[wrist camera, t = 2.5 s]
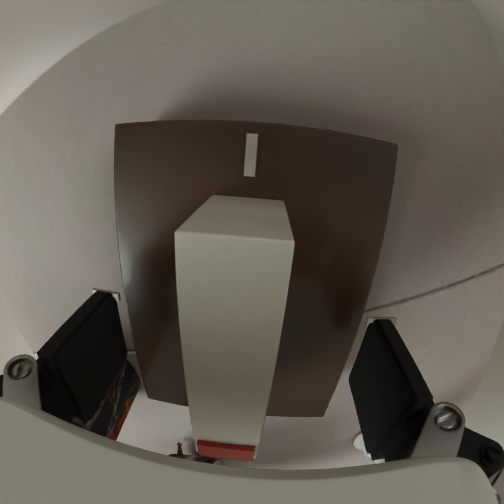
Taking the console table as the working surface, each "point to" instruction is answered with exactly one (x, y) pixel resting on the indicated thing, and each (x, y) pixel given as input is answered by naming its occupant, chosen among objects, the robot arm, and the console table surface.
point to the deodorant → (115, 404)
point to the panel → (302, 225)
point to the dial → (231, 317)
